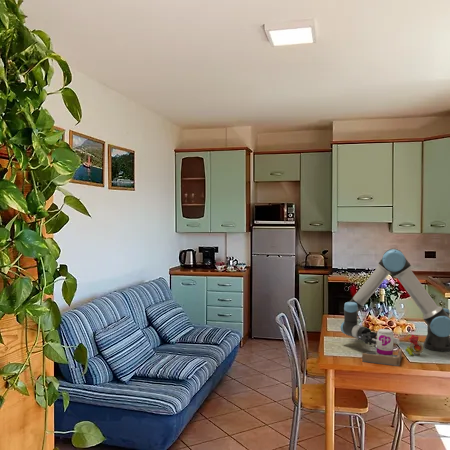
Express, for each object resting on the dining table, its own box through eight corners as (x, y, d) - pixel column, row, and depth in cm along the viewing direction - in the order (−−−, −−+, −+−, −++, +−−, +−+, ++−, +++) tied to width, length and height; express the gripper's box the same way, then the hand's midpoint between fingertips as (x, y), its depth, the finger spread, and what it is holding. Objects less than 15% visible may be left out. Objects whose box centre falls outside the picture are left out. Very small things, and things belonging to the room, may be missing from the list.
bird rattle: (416, 356, 248) (401, 350, 248) (424, 338, 248) (409, 332, 248) (420, 360, 242) (405, 353, 242) (429, 341, 242) (413, 335, 242)
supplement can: (391, 362, 231) (392, 333, 230) (374, 359, 235) (375, 330, 235) (394, 358, 238) (395, 330, 237) (378, 355, 242) (379, 327, 242)
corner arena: (401, 356, 242) (401, 349, 242) (399, 366, 226) (399, 358, 226) (367, 352, 250) (367, 345, 250) (362, 361, 234) (362, 353, 234)
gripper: (378, 337, 257) (407, 347, 237) (345, 342, 248) (372, 352, 228) (378, 324, 257) (407, 333, 237) (344, 328, 248) (372, 338, 228)
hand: (390, 342), depth 232 cm, fingers open, 11 cm apart
